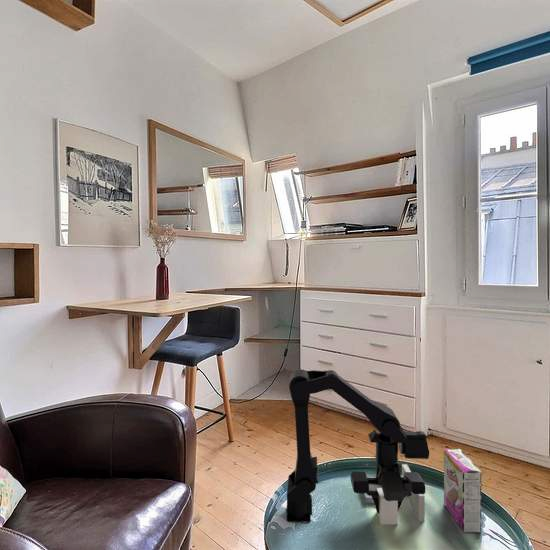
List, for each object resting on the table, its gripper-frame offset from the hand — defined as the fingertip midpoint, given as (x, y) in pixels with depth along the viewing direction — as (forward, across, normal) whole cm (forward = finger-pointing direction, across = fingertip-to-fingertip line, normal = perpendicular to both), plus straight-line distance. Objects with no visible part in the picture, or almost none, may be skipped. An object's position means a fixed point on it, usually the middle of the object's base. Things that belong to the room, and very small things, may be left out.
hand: (386, 512), depth 99 cm
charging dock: (+2, 0, +10) cm, 10 cm away
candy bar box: (+2, +20, 0) cm, 20 cm away
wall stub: (+2, +9, +6) cm, 11 cm away
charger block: (+2, 0, 0) cm, 2 cm away
